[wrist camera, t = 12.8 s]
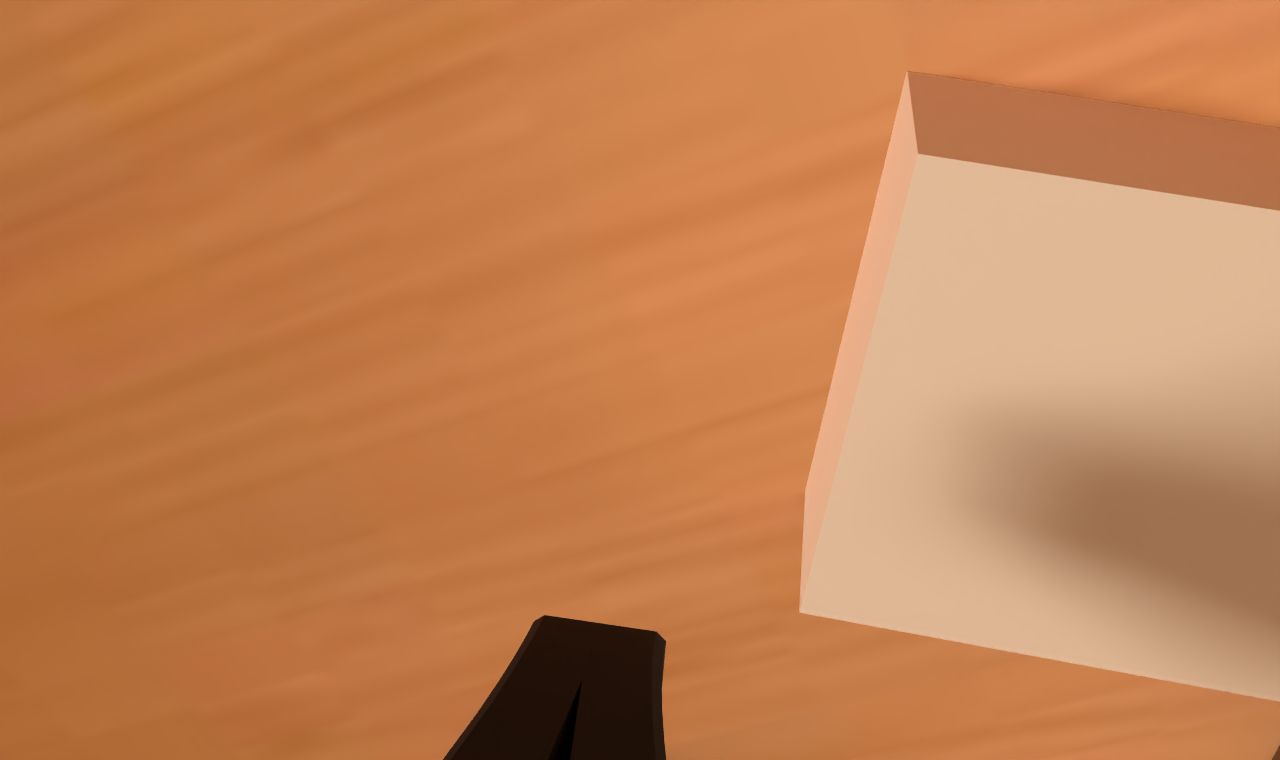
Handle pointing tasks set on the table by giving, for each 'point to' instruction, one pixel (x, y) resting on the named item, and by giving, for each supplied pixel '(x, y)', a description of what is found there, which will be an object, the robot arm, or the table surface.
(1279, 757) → the stop rail
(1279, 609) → the wooden block
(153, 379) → the table surface
